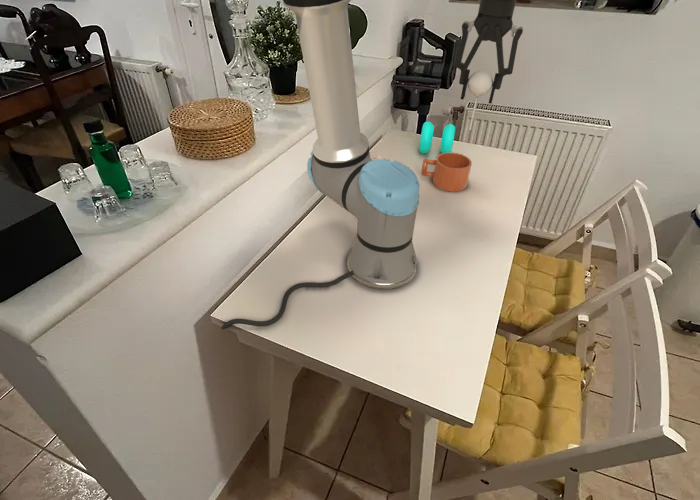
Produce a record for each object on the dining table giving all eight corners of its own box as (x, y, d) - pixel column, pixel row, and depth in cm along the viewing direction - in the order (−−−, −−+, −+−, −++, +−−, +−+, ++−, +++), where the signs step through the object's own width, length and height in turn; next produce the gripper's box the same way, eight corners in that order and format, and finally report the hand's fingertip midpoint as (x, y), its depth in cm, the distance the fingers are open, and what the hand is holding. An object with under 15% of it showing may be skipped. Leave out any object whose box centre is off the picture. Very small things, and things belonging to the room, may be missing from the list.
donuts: (449, 163, 133) (455, 132, 127) (417, 158, 135) (421, 128, 129) (451, 148, 141) (456, 119, 134) (420, 145, 142) (424, 115, 136)
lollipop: (480, 126, 115) (494, 68, 106) (483, 135, 111) (497, 75, 101) (457, 124, 116) (468, 66, 106) (458, 133, 111) (471, 74, 102)
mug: (467, 176, 127) (471, 155, 123) (466, 193, 120) (471, 171, 115) (422, 170, 129) (425, 149, 125) (418, 186, 122) (421, 164, 117)
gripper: (545, -5, 94) (516, 100, 109) (457, -12, 99) (441, 89, 113) (545, 1, 89) (515, 110, 103) (453, -7, 93) (436, 98, 108)
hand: (476, 99), depth 108 cm, fingers closed on lollipop, 6 cm apart
